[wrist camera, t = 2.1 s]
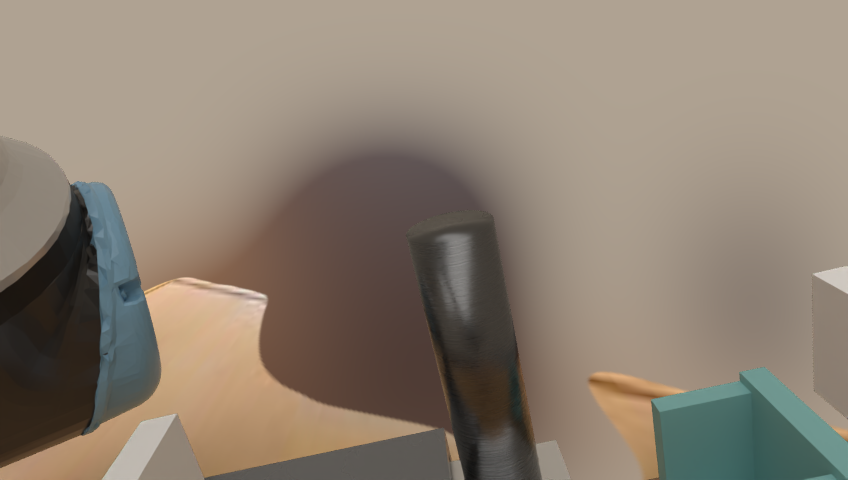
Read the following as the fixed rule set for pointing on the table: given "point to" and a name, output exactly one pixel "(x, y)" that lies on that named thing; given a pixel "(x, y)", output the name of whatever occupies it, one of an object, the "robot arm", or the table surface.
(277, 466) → the base plate with blocks
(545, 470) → the metal plate with post
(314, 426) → the table surface
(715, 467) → the teal bracket
